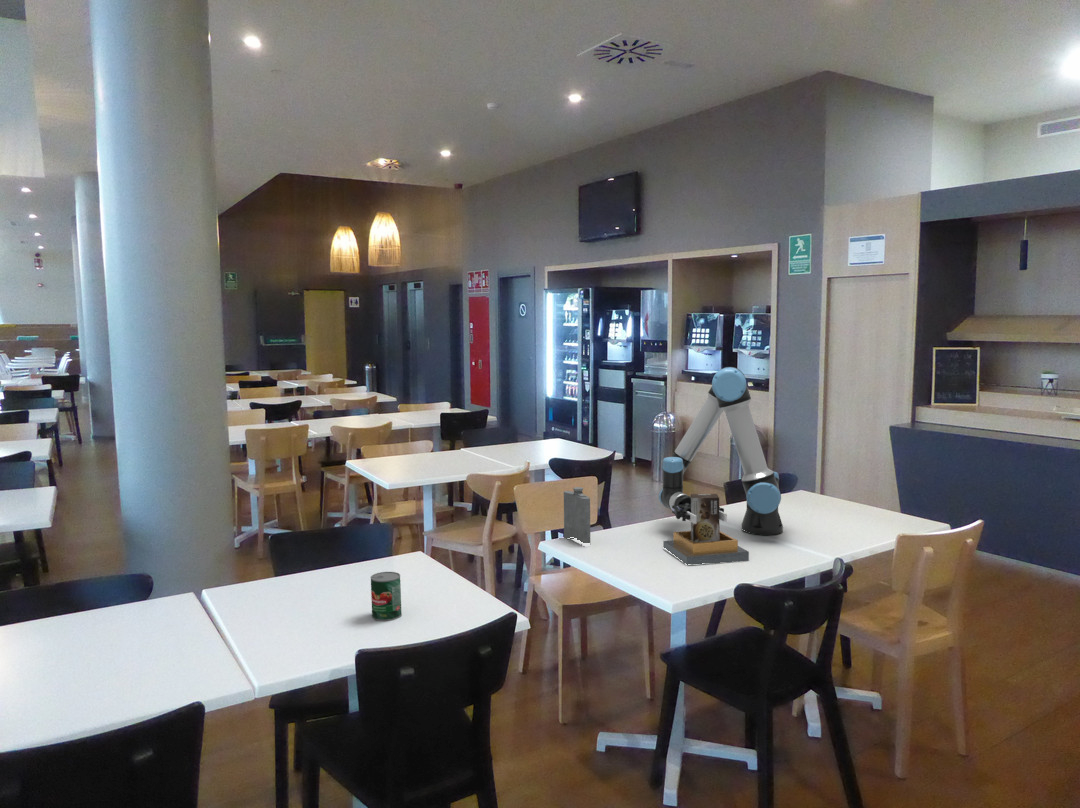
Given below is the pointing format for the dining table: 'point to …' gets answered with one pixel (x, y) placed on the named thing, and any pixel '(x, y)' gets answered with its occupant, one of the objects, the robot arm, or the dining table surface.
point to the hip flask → (577, 515)
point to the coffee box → (705, 518)
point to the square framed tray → (705, 549)
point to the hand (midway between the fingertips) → (710, 518)
